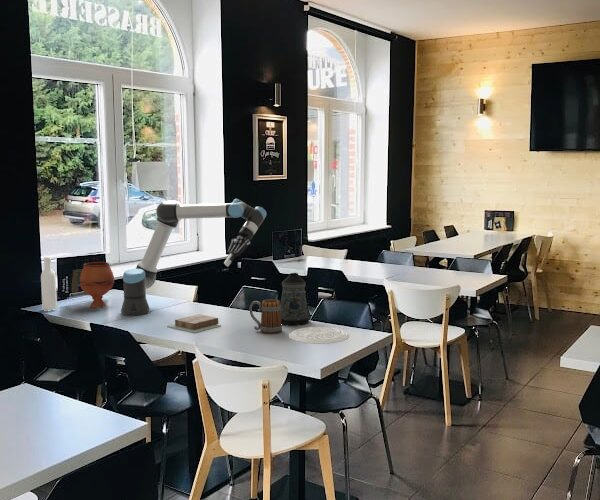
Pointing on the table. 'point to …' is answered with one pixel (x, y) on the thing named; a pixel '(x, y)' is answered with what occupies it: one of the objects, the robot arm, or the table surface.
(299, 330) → the ceiling medallion
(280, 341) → the table surface
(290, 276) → the beer stein
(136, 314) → the robot arm
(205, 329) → the mat
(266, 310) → the mug
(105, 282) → the goblet
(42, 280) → the bottle
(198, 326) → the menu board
